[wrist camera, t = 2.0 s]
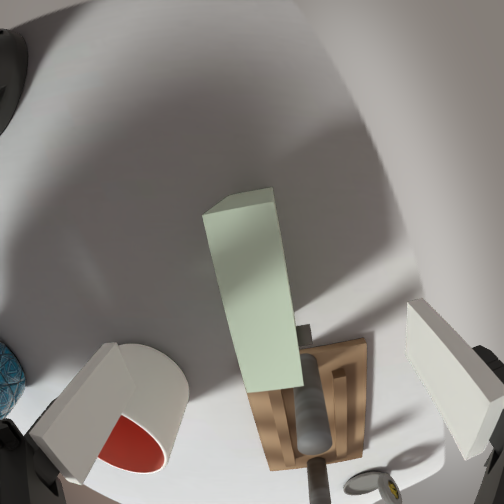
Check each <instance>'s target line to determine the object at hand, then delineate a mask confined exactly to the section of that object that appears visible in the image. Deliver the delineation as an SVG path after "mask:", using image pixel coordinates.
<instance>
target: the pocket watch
mask: <svg viewBox="0 0 504 504" xmlns="http://www.w3.org/2000/svg"><path fill="white" fill-rule="evenodd" d="M378 488H379V492H380V495H381V497H382V499H383V501H384V502H385V503H386V504H402V498H401V494H400V491H399V488H398V486H397V485H396V483H395V481H394V480H393V478H392V477H391V476H390V475H389V474H387V473H384V474H383V473H381V472H368V473H364V474H360V475H358V476H356V477H353V478H351V479H350V480H349V481H347V482H346V484H345V485H344V487H343V489H344V492H345V493H346V494H348V495H361V494H366V493H369V492H372V491H374V490H376V489H378Z"/></svg>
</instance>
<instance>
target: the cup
mask: <svg viewBox="0 0 504 504" xmlns="http://www.w3.org/2000/svg"><path fill="white" fill-rule="evenodd" d="M118 347H119V349H120V352H121V354H122V356H123V359H124V361H125V363H126V365H127V368H128V370H129V372H130V374H131V376H132V379H133V381H134V383H135V385H136V387H137V388H136V390H135V392H134V393H133V395H132V397H131V398H130V400H129V402H128V404H127V405H126V407H125V409H124V411H123V412H122V414H121V416H120V418H119V419H118V421H117V423H116V425H115V426H114V428H113V430H112V432H111V434H110V435H109V437H108V439H107V441H106V442H105V444H104V446H103V448H102V450H101V451H100V453H99V455H98V457H97V458H99V459H100V460H102V461H104V462H105V463H107V464H109V465H111V466H114V467H116V468H119V469H121V470H125V471H128V472H133V473H139V474H150V473H156V472H159V471H161V470H162V469H164V468H165V467H166V465H167V463H168V461H169V458H170V454H171V451H172V448H173V445H174V442H175V439H176V436H177V433H178V430H179V427H180V424H181V421H182V418H183V415H184V412H185V409H186V406H187V403H188V400H189V386H188V382H187V380H186V377H185V375H184V374H183V372H182V370H181V369H180V368H179V367H178V365H177V364H176V363H175V362H174V361H173V360H172V359H170V358H169V357H168V356H166V355H165V354H163V353H162V352H160V351H158V350H156V349H154V348H151V347H149V346H146V345H141V344H123V345H119V346H118Z"/></svg>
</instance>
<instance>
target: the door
mask: <svg viewBox="0 0 504 504" xmlns="http://www.w3.org/2000/svg"><path fill="white" fill-rule="evenodd" d="M202 218H203V222H204V226H205V231H206V235H207V240H208V244H209V248H210V253H211V257H212V261H213V265H214V269H215V273H216V278H217V282H218V286H219V290H220V294H221V298H222V302H223V306H224V310H225V314H226V318H227V321H228V325H229V329H230V333H231V337H232V341H233V344H234V348H235V352H236V355H237V359H238V363H239V366H240V370H241V374H242V377H243V381H244V384H245V388H246V391H247V393H252V392H261V391H270V390H278V389H285V388H293V387H299V386H304V383H303V375H302V368H301V360H300V352H299V346H305V345H311V344H313V343H312V335H311V329H310V324H307V325H301V326H296V323H295V316H294V310H293V303H292V297H291V291H290V285H289V278H288V272H287V266H286V261H285V255H284V249H283V243H282V237H281V232H280V226H279V220H278V215H277V209H276V204H275V199H274V193H273V188H272V187H270V188H264V189H259V190H254V191H248V192H243V193H238V194H233V195H229V196H227V197H226V198H224V199H223V200H222V201H220V202H219V203H218V204H216V205H215V206H214V207H212V208H211V209H210V210H208V211H207V212H206V213H204V214H203V215H202Z"/></svg>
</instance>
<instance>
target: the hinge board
mask: <svg viewBox="0 0 504 504" xmlns="http://www.w3.org/2000/svg"><path fill="white" fill-rule="evenodd" d="M299 352H300V360H301V368H302V375H303V383H304V386H299V387H293V388H285V389H278V390H270V391H261V392H252V393H247V396H248V399H249V403H250V406H251V410H252V413H253V416H254V420H255V423H256V426H257V430H258V433H259V436H260V440H261V443H262V446H263V449H264V453H265V456H266V459H267V462H268V465H269V469H270V471H279V470H289V469H298V468H305V467H307V473H308V486H309V500H310V504H331V499H330V491H329V483H328V475H327V468H326V464H331V463H337V462H342V461H347V460H352V459H357V458H361V457H362V453H363V441H364V428H365V410H366V380H367V343H366V341H365V339H364V338H360V339H355V340H350V341H345V342H340V343H335V344H330V345H324V346H319V347H313V348H307V349H301V350H299ZM239 367H240V366H239ZM240 371H241V370H240ZM242 378H243V377H242ZM243 382H244V381H243ZM244 385H245V384H244ZM245 389H246V388H245ZM246 392H247V391H246Z"/></svg>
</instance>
